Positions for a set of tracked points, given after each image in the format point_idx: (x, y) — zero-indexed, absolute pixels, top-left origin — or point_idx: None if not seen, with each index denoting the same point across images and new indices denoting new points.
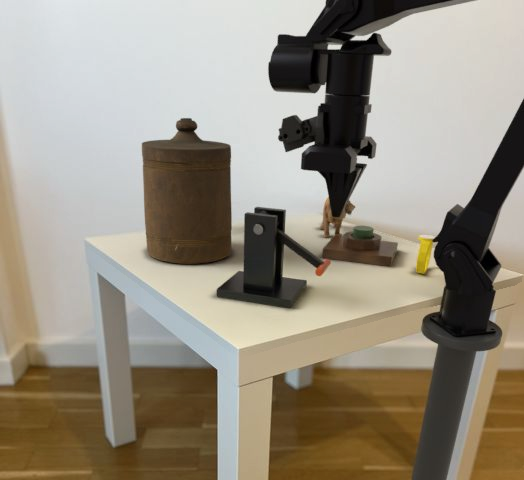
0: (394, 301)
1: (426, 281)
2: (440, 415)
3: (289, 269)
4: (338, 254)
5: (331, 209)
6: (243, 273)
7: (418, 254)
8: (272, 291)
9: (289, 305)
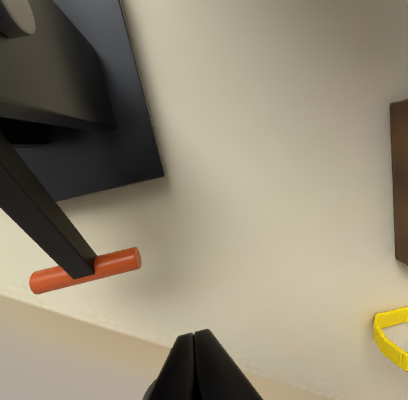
0: None
1: (339, 340)
2: None
3: (262, 73)
4: (403, 145)
5: (164, 368)
6: None
7: (397, 350)
8: (32, 147)
9: None
